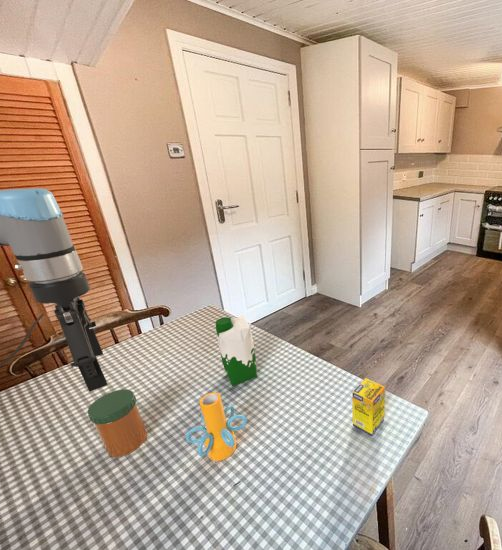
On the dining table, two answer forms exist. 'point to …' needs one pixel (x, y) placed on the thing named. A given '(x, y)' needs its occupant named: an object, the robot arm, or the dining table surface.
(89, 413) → the jar lid
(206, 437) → the orange vase
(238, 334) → the milk carton
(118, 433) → the jar
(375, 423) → the supplement box
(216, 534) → the dining table surface
